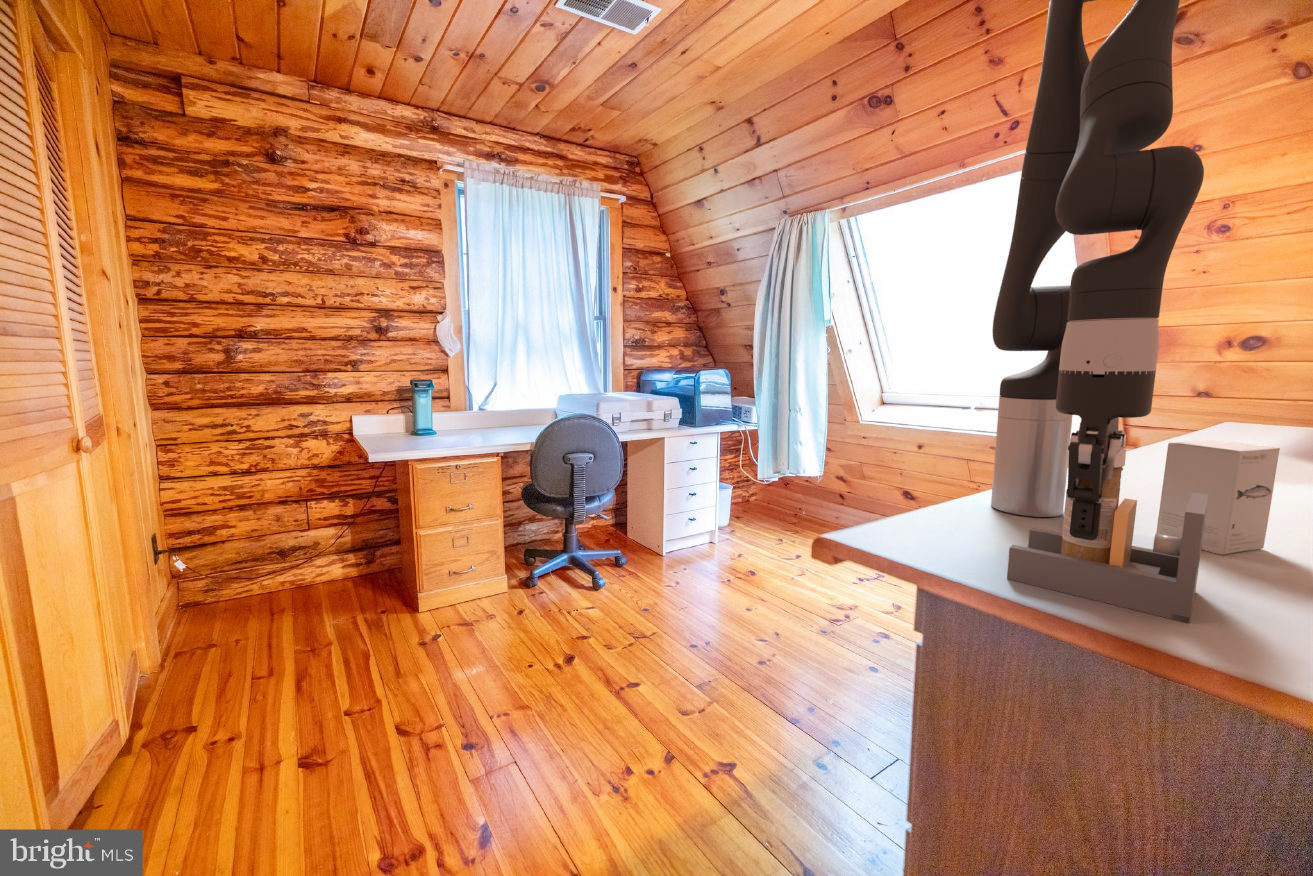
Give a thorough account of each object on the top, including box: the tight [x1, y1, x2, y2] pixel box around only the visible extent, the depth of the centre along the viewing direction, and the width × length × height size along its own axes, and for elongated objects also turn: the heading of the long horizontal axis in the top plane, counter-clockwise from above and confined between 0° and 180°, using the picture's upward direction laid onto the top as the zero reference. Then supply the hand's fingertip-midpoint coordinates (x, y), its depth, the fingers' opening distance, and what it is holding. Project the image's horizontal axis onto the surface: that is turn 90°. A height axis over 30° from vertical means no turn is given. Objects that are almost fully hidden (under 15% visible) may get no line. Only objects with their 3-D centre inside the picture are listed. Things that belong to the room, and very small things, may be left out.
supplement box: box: [1155, 439, 1281, 556], centre depth 68 cm, size 7×7×13 cm
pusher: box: [1109, 498, 1160, 574], centre depth 55 cm, size 6×3×8 cm, turn 134°
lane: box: [1006, 493, 1209, 624], centre depth 57 cm, size 9×14×10 cm, turn 44°
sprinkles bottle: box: [1061, 447, 1127, 564], centre depth 57 cm, size 5×5×14 cm
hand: (1087, 531), depth 58 cm, fingers closed on sprinkles bottle, 4 cm apart
